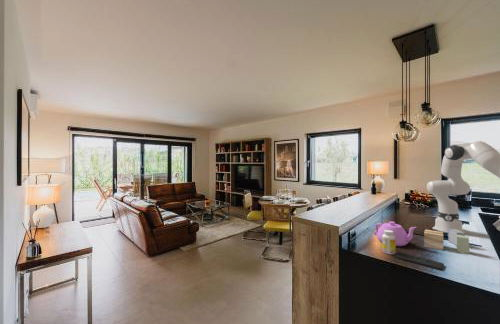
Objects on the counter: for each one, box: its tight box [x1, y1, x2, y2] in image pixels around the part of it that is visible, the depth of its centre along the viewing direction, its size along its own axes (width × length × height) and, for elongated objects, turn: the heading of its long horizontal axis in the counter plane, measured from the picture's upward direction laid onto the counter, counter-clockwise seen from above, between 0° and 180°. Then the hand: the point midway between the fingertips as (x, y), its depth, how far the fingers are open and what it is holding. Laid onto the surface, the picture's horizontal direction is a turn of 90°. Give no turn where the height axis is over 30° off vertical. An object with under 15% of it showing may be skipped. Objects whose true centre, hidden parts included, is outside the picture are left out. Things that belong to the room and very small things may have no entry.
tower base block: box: [423, 239, 444, 251], centre depth 136 cm, size 9×9×4 cm
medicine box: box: [447, 229, 466, 246], centre depth 139 cm, size 8×4×9 cm, turn 168°
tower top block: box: [423, 229, 444, 244], centre depth 136 cm, size 9×9×4 cm
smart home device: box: [394, 251, 445, 272], centre depth 116 cm, size 8×2×20 cm
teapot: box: [374, 220, 417, 247], centre depth 143 cm, size 25×18×14 cm
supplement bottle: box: [381, 230, 397, 255], centre depth 128 cm, size 7×7×13 cm
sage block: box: [456, 235, 470, 255], centre depth 128 cm, size 5×5×9 cm
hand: (496, 227), depth 119 cm, fingers open, 8 cm apart
